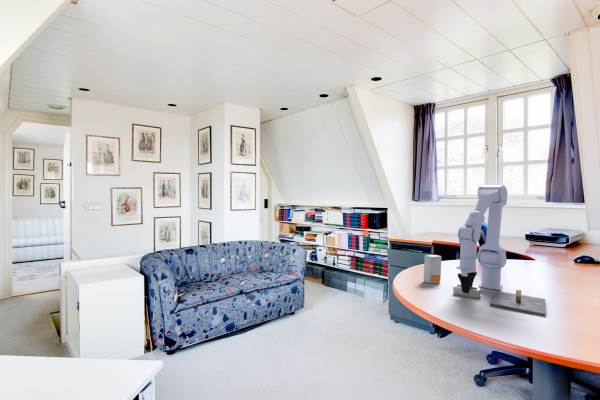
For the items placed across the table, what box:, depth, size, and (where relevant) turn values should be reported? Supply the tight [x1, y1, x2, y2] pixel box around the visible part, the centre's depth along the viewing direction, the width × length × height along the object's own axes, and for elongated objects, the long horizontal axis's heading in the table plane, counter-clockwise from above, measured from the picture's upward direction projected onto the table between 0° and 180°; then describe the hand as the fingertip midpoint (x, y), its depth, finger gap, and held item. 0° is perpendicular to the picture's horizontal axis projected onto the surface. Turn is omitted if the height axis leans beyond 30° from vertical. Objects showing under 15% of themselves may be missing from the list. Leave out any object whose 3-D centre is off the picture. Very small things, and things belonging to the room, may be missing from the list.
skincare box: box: [423, 254, 443, 284], centre depth 149 cm, size 6×4×12 cm
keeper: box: [489, 289, 547, 318], centre depth 122 cm, size 20×16×5 cm
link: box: [452, 283, 482, 299], centre depth 131 cm, size 9×5×3 cm, turn 54°
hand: (466, 291), depth 131 cm, fingers closed on link, 5 cm apart
